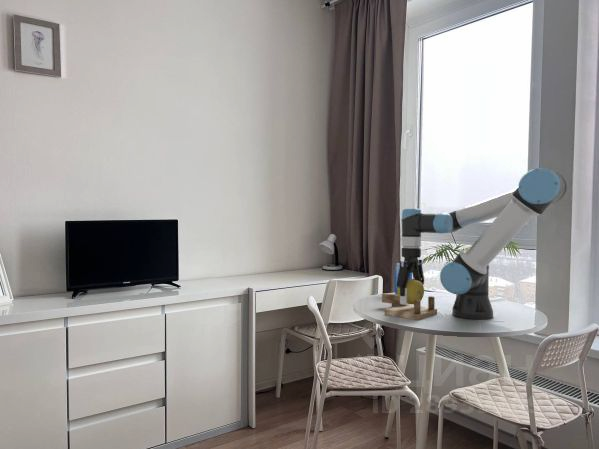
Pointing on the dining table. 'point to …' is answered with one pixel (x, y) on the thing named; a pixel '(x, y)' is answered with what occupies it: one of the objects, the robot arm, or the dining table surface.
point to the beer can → (397, 276)
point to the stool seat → (413, 310)
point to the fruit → (413, 291)
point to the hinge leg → (391, 298)
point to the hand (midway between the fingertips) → (410, 302)
